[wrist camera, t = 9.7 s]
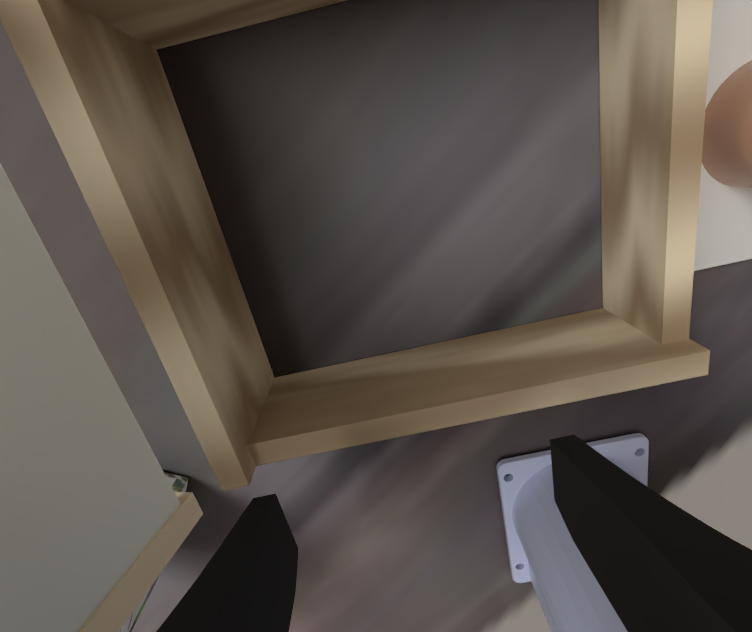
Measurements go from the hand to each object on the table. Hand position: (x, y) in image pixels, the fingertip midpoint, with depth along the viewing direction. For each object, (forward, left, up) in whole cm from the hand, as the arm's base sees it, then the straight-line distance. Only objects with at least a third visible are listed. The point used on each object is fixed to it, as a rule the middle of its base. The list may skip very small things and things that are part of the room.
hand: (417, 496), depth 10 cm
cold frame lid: (+6, +10, +7) cm, 14 cm away
